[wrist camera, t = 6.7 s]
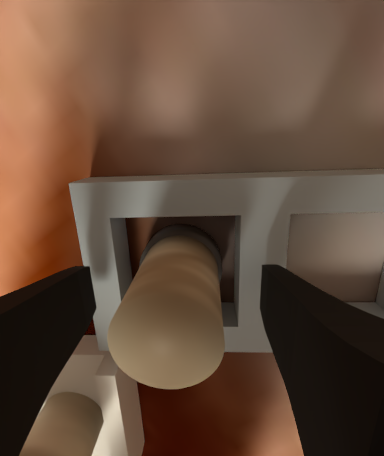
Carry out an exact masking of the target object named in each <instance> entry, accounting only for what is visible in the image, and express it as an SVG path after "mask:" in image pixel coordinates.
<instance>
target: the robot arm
mask: <svg viewBox="0 0 384 456" xmlns="http://www.w3.org/2000/svg"><path fill="white" fill-rule="evenodd" d="M96 308H97V307H96V301H95V295H94V290H93V284H92V278H91V272H90V266H75V267H71V268H68V269H65V270H63V271H60V272H58V273H55V274H53V275H51V276H48V277H46V278H44V279H42V280H39V281H37V282H35V283H32V284H30V285H28V286H26V287H23V288H21V289H18V290H16V291H13V292H11V293H8V294H6V295H4V296H1V297H0V456H19V455H20V452H21V450H22V448H23V446H24V444H25V442H26V439H27V437H28V435H29V433H30V431H31V429H32V426H33V424H34V422H35V420H36V418H37V416H38V414H39V412H40V410H41V408H42V406H43V404H44V402H45V400H46V398H47V396H48V394H49V392H50V390H51V388H52V386H53V385H54V383H55V381H56V379H57V378H58V376H59V374H60V373H61V371H62V370H63V368H64V366H65V365H66V363H67V362H68V360H69V358H70V357H71V355H72V354H73V352H74V350H75V349H76V347H77V346H78V344H79V342H80V341H81V339H82V337H83V336H84V334H85V332H86V331H87V329H88V327H89V325H90V322H91V320H92V318H93V316H94V313H95V311H96ZM260 312H261V316H262V321H263V325H264V329H265V332H266V335H267V338H268V340H269V343H270V346H271V348H272V351H273V354H274V356H275V359H276V362H277V364H278V367H279V370H280V372H281V375H282V378H283V380H284V383H285V386H286V389H287V392H288V395H289V399H290V403H291V406H292V410H293V414H294V418H295V421H296V425H297V429H298V433H299V437H300V441H301V445H302V449H303V453H304V456H384V319H383V318H380V317H378V316H375V315H373V314H370V313H368V312H365V311H363V310H361V309H358V308H356V307H354V306H352V305H349V304H347V303H345V302H343V301H341V300H339V299H337V298H335V297H333V296H331V295H329V294H327V293H325V292H324V291H322V290H320V289H318V288H316V287H315V286H313V285H311V284H310V283H308V282H306V281H305V280H303V279H301V278H300V277H298V276H296V275H295V274H293V273H292V272H290V271H288V270H287V269H285V268H283V267H282V266H280V265H278V264H266V265H262V274H261V292H260Z"/></svg>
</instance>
